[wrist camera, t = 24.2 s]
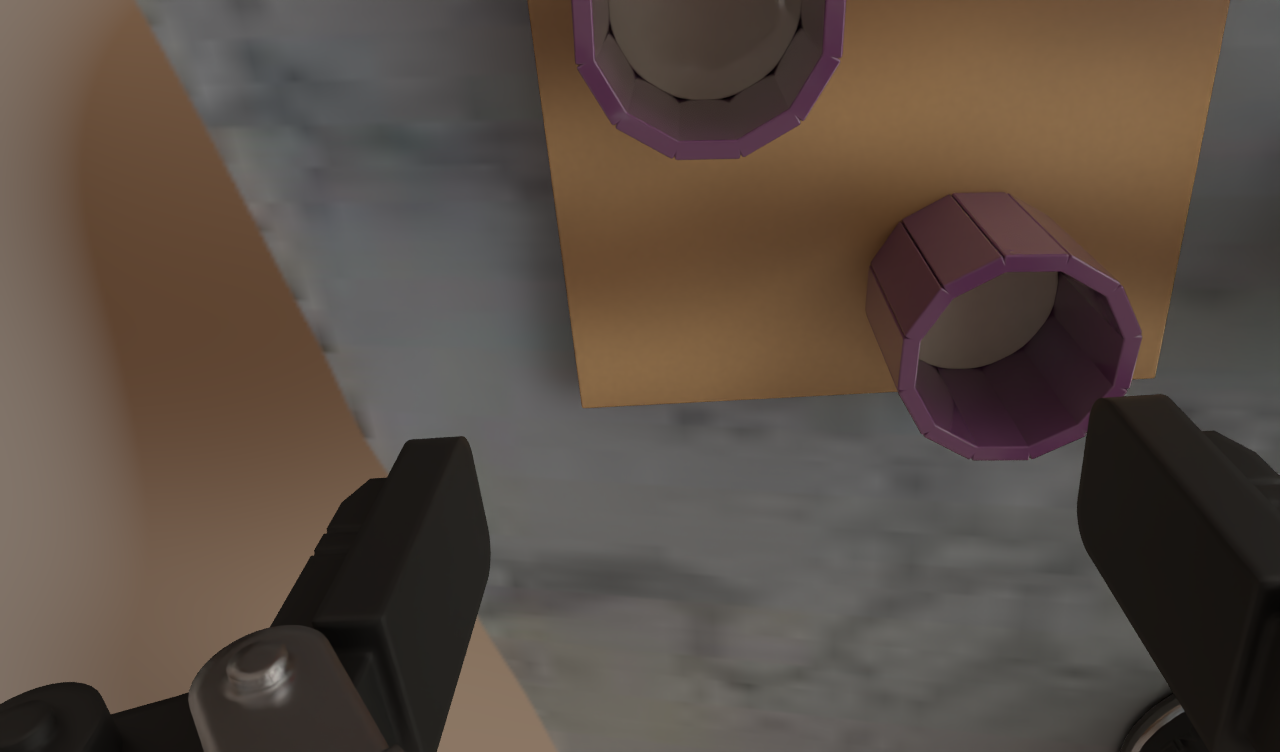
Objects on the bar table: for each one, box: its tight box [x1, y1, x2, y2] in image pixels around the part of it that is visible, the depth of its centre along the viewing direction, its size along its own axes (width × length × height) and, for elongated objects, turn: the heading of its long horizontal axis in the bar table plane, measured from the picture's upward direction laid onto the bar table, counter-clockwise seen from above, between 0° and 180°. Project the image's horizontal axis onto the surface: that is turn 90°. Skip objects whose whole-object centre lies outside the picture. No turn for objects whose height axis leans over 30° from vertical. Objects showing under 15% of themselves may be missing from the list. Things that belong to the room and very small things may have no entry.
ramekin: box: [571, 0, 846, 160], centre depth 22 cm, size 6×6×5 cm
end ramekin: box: [865, 192, 1142, 460], centre depth 25 cm, size 6×6×5 cm
